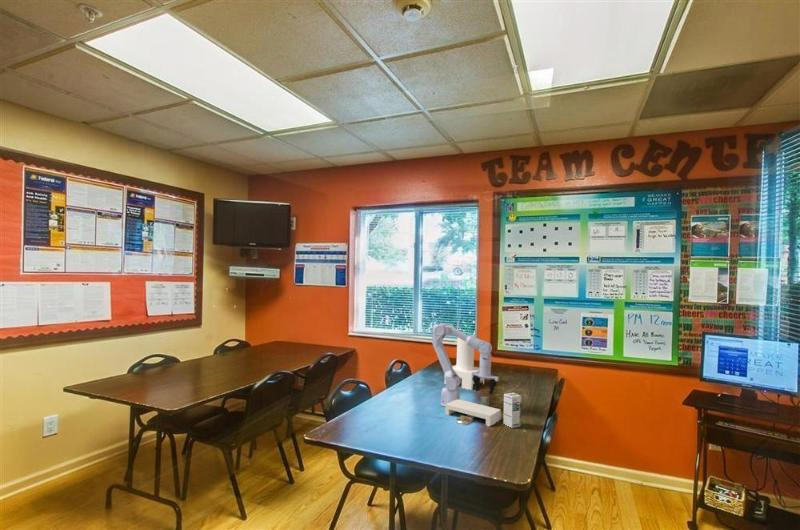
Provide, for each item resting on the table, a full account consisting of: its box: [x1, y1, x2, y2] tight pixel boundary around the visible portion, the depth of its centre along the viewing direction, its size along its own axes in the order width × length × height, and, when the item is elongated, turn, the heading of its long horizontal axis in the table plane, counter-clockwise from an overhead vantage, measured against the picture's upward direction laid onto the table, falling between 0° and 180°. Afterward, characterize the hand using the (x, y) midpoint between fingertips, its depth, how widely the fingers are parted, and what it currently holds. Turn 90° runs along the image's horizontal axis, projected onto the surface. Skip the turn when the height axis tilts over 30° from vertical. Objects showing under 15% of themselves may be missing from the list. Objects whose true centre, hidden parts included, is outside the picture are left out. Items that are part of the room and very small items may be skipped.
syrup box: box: [503, 392, 522, 429], centre depth 191 cm, size 6×6×14 cm
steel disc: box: [456, 417, 470, 426], centre depth 192 cm, size 6×6×1 cm
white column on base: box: [444, 337, 485, 391], centre depth 262 cm, size 19×19×30 cm
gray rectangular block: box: [459, 395, 490, 423], centre depth 203 cm, size 22×6×7 cm, turn 142°
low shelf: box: [444, 399, 502, 427], centre depth 200 cm, size 24×12×5 cm, turn 52°
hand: (484, 392), depth 211 cm, fingers open, 7 cm apart
